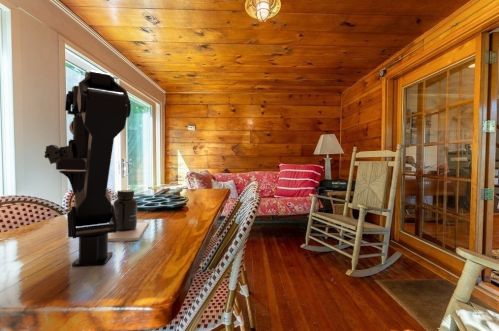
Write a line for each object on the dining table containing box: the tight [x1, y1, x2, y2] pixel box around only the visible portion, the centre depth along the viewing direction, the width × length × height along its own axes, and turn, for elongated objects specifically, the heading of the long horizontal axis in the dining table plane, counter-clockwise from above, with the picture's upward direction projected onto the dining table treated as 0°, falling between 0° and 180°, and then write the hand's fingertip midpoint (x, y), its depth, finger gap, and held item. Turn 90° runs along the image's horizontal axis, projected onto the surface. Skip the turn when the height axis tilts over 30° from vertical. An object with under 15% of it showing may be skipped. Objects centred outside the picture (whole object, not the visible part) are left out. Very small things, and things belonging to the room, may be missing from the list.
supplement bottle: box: [112, 189, 138, 231], centre depth 84 cm, size 7×7×12 cm
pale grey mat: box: [108, 221, 150, 242], centre depth 83 cm, size 18×12×1 cm, turn 12°
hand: (85, 195), depth 71 cm, fingers open, 9 cm apart
